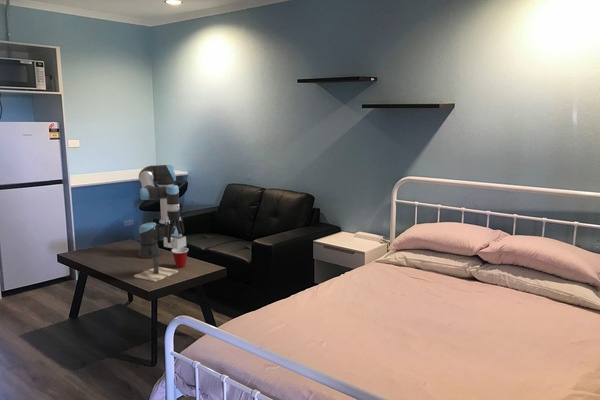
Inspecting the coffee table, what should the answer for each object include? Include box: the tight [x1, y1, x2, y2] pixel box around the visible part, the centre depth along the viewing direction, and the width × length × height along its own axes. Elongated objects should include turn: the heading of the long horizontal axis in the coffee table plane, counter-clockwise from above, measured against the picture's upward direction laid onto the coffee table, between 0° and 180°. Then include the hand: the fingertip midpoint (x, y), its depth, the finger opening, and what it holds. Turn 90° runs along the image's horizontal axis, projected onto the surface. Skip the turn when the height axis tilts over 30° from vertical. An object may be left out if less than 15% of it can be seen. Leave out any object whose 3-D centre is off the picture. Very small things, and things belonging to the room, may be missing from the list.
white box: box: [163, 234, 187, 249], centre depth 295 cm, size 8×11×6 cm
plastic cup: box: [171, 246, 189, 269], centre depth 313 cm, size 11×11×12 cm
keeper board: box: [133, 256, 179, 282], centre depth 298 cm, size 20×18×12 cm
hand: (175, 245), depth 295 cm, fingers closed on white box, 8 cm apart
